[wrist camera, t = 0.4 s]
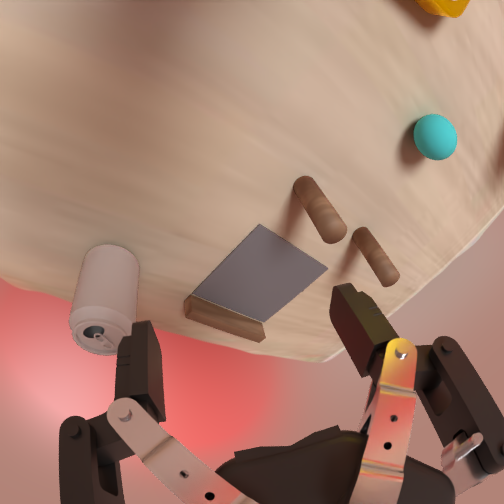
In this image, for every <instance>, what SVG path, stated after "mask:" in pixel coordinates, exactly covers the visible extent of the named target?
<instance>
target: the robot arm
mask: <svg viewBox="0 0 504 504" xmlns="http://www.w3.org/2000/svg"><path fill="white" fill-rule="evenodd" d="M329 313H330V319H331V322H332V324H333V326H334V328H335V330H336V331H337V333H338V335H339V337H340V339H341V340H342V342H343V344H344V346H345V348H346V350H347V352H348V353H349V355H350V356H351V359H352V361H353V362H354V364H355V366H356V368H357V370H358V372H359V374H360V376H361V377H362V378H363V377H366V376H368V375H370V376H371V378H372V382H371V385H370V389H369V393H368V397H367V401H366V405H365V408H364V412H363V416H362V419H361V421H360V423H359V426H358V429H357V431H348V430H347V431H346V430H342V431H340V429H339V426H338V425H337V426H334V427H330V428H327V429H325V430H321V431H318V432H314V433H312V434H311V435H309V436H307V437H305V438H304V439H302V440H300V441H298V442H297V443H295V444H293V445H291V446H279V447H278V446H275V447H256V448H251V449H246V450H242V451H237V452H234V454H235V458H233V459H231V460H229V461H227V462H225V463H224V464H222V465H221V466H220V467H219V468H218V469H217V470H216V471H215V472H214V471H213V470H211V469H210V468H209V467H208V466H207V465H205V464H204V463H203V462H202V461H201V460H199V459H198V458H197V457H196V456H195V455H193V454H192V453H191V452H190V451H189V450H188V449H187V448H186V447H184V446H183V445H182V444H181V443H180V442H179V441H178V440H176V439H175V438H174V437H173V436H170V435H169V434H168V433H167V432H166V431H165V430H164V429H163V428H162V427H161V426H160V425H159V422H164V421H166V416H165V404H164V391H163V376H162V375H163V373H162V355H161V349H160V345H159V342H158V339H157V337H156V334H155V332H154V329H153V327H152V324H151V322H150V320H147V321H141V322H134V323H132V330H131V335H130V336H123V338H122V340H121V341H120V343H119V345H118V351H117V364H116V365H117V367H116V381H115V398H114V402H113V403H112V404H111V405H110V406H109V408H108V411H106V412H105V413H104V414H102V415H99V416H97V417H94V418H91V419H89V420H85V419H84V418H82V417H80V416H71V417H69V418H67V419H66V420H65V421H64V422H63V423H62V424H61V427H60V432H59V483H60V500H61V504H125V501H124V495H123V488H122V480H121V472H120V463H119V460H122V459H124V458H127V457H130V456H132V455H135V454H136V455H137V456H138V457H139V458H140V459H141V460H142V462H143V463H144V465H145V466H146V467H147V468H148V469H149V470H150V471H151V472H152V473H153V474H154V475H155V476H156V477H157V478H158V479H159V480H160V481H161V482H162V483H163V484H164V485H165V486H166V487H167V488H168V489H169V490H170V491H172V492H173V493H174V494H175V495H176V496H177V497H178V498H179V499H180V500H181V501H182V502H184V503H185V504H455V497H456V496H458V495H459V494H461V493H463V492H464V491H466V490H468V489H469V488H471V487H473V486H475V485H477V484H479V483H481V482H483V481H484V480H486V479H488V478H490V477H491V476H493V475H495V474H496V473H498V472H500V471H501V470H503V469H504V417H503V415H502V414H501V412H500V410H499V408H498V407H497V405H496V403H495V402H494V400H493V398H492V396H491V395H490V393H489V392H488V389H487V388H486V386H485V385H484V383H483V382H482V380H481V378H480V377H479V375H478V373H477V372H476V370H475V369H474V367H473V366H472V364H471V363H470V361H469V359H468V358H467V356H466V355H465V353H464V352H463V350H462V349H461V348H460V346H459V344H458V343H457V342H456V341H455V340H454V339H452V338H450V337H447V336H441V337H438V338H437V339H435V341H434V343H433V345H421V346H415V345H414V344H413V343H412V342H410V341H409V340H407V339H403V338H400V337H399V336H398V335H397V333H396V332H395V330H394V329H393V327H392V326H391V324H390V323H389V322H388V320H387V319H386V317H385V316H384V314H382V312H381V310H380V309H379V307H377V305H376V303H375V302H374V300H373V299H372V298H371V297H370V296H368V295H367V294H365V293H364V292H363V291H362V292H357V290H356V289H355V288H354V286H353V285H352V284H351V283H346V284H342V285H337V286H334V287H333V291H332V298H331V304H330V310H329ZM415 390H416V392H417V394H418V396H419V398H420V400H421V402H422V404H423V406H424V407H425V410H426V412H427V414H428V416H429V418H430V420H431V422H432V424H433V425H434V428H435V430H436V432H437V434H438V436H439V438H440V440H441V442H442V445H443V447H444V449H443V451H442V454H441V466H442V467H443V471H440V470H438V469H435V468H433V467H431V466H429V465H426V464H424V463H422V462H420V461H418V460H415V459H414V458H411V457H409V456H407V455H406V454H407V449H408V445H409V440H410V435H411V429H412V423H413V418H414V412H415V411H414V410H415V405H416V393H414V392H413V391H415Z"/></svg>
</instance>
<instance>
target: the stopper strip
mask: <svg viewBox="0 0 504 504" xmlns="http://www.w3.org/2000/svg"><path fill="white" fill-rule="evenodd" d="M184 303H185V317H186V318H188V319H191V320H194V321H197V322H199V323H202V324H205V325H208V326H210V327H213V328H216V329H219V330H222V331H225V332H228V333H231V334H234V335H237V336H240V337H243V338H246V339H249V340H252V341H255V342H258V343H260V342H261V341H262V340H264V339H265V338H266V337H265V333H264V329H263V326H262V323H260V322H258V321H255V320H252V319H250V318H247V317H245V316H242V315H240V314H237V313H234V312H232V311H229V310H227V309H224V308H222V307H219V306H217V305H214V304H212V303H210V302H207V301H205V300H202V299H200V298H197V297H195V296H193V295H190V296H189V297H188V298H187V299H186V300H185V301H184Z"/></svg>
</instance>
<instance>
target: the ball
mask: <svg viewBox="0 0 504 504" xmlns="http://www.w3.org/2000/svg"><path fill="white" fill-rule="evenodd" d="M414 141H415V144H416V146H417V148H418V150H419V151H420V152H421V153H422V154H423V155H424V156H426V157H427V158H429V159H432V160H443V159H446V158H448V157H449V156H450V155H451V154H452V153H453V152H454V150H455V148H456V145H457V134H456V131H455V129H454V127H453V125H452V124H451V123H450V121H448V120H447V119H446V118H444V117H443V116H440V115H436V114H430V115H426V116H424V117H422V118H421V119H420V120H419V121H418V122H417V124H416V125H415V128H414Z"/></svg>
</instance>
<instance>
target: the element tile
mask: <svg viewBox="0 0 504 504" xmlns="http://www.w3.org/2000/svg"><path fill="white" fill-rule="evenodd" d="M415 1H416V2H417V3H418V4H419V5H420V6H421V7H422V8H423V9H424V10H425V11H426V12H428V13H430V14H433V15H440V16H446V17H452V18H457V17H459V16H460V15H462V13H463V12H464V10H465V8H466V7H467V5H468V3H469V1H470V0H415Z"/></svg>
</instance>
